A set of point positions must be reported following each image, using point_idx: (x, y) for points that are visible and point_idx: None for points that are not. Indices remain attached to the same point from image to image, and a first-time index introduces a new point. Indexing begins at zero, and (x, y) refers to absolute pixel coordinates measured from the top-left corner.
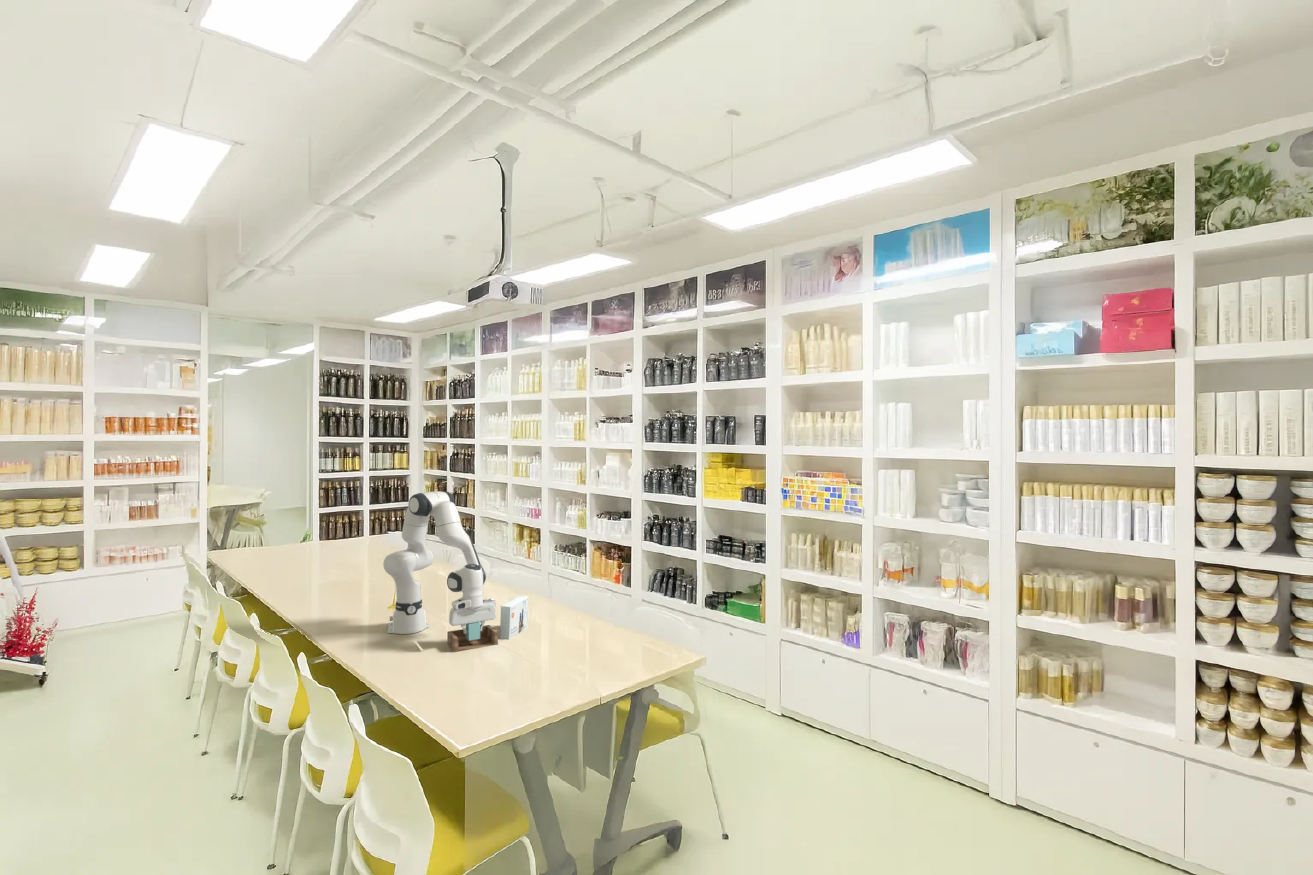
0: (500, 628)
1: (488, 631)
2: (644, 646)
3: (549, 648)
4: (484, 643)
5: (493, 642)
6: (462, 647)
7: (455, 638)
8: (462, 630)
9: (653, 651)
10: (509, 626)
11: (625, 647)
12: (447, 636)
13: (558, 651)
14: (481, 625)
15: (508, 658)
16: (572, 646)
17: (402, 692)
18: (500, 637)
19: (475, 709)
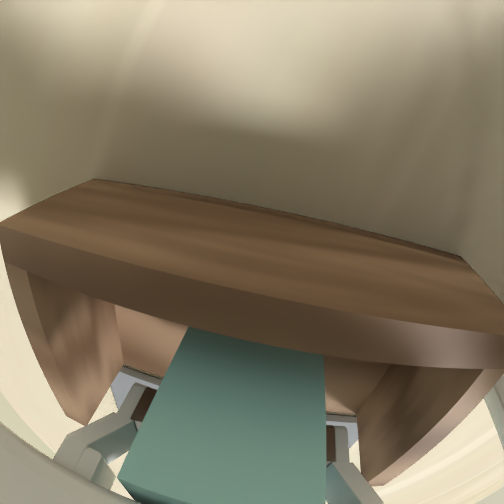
0: (499, 401)
1: (441, 369)
2: (496, 483)
3: (438, 471)
4: (336, 366)
5: (365, 410)
6: (162, 331)
7: (70, 415)
8: (141, 309)
9: (475, 496)
10: (501, 443)
11: (486, 483)
12: (35, 207)
13: (424, 485)
14: (329, 492)
15: None
16: (471, 470)
17: (21, 411)
18: None
19: (130, 497)
